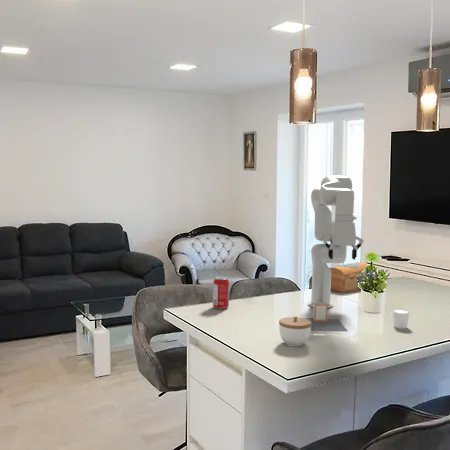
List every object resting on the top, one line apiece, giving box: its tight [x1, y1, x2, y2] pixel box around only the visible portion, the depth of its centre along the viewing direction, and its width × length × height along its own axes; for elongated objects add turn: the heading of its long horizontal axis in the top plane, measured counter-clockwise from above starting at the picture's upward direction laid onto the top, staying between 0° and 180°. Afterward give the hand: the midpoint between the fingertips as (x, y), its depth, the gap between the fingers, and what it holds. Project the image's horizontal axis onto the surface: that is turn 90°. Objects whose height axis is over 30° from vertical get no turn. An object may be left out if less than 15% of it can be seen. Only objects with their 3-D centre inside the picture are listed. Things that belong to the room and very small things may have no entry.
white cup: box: [393, 309, 410, 329], centre depth 248 cm, size 7×7×7 cm
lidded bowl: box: [278, 315, 311, 348], centre depth 219 cm, size 13×13×11 cm
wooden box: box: [329, 261, 368, 293], centre depth 332 cm, size 30×16×14 cm, turn 133°
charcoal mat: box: [303, 317, 348, 332], centre depth 247 cm, size 20×18×1 cm
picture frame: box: [312, 303, 329, 322], centre depth 252 cm, size 2×6×8 cm, turn 91°
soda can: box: [212, 276, 230, 310], centre depth 274 cm, size 8×8×15 cm
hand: (342, 258), depth 237 cm, fingers open, 9 cm apart
